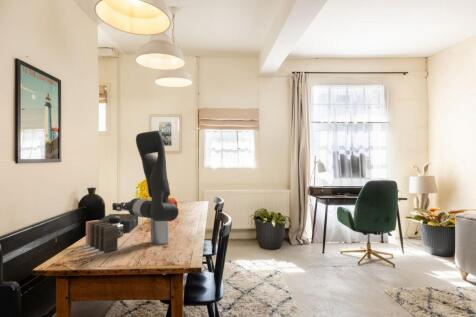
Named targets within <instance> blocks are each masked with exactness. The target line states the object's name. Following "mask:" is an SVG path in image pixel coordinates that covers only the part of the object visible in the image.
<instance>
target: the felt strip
mask: <svg viewBox="0 0 476 317" xmlns="http://www.w3.org/2000/svg"><path fill="white" fill-rule="evenodd" d="M80 246H81V247H83V248H85V249H88V250H89V251H92V252H94V253H96V254H99V255H101V256H105V255H109V254H113V253H117V252H122V251H123V249H121V248H118V250H117V251H114V252H109V253H104V251H99V249H94V247H92V248H91V247H90V245H89V246H87V245H86V243H85V244H82V245H80Z"/></svg>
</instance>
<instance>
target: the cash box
mask: <svg viewBox="0 0 476 317" xmlns="http://www.w3.org/2000/svg"><path fill="white" fill-rule="evenodd" d="M110 217H120V225H123V234H128V233H131V232H132V231H133V230H134V229H135V228H136V227H137V226H138V225H139V217H138V216H133V215H131V214H130V213H110V214H108V215H106V216H104V217H103V218H100V219H98V220H99V222H100V221H103V223H108V224H109V218H110Z"/></svg>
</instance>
